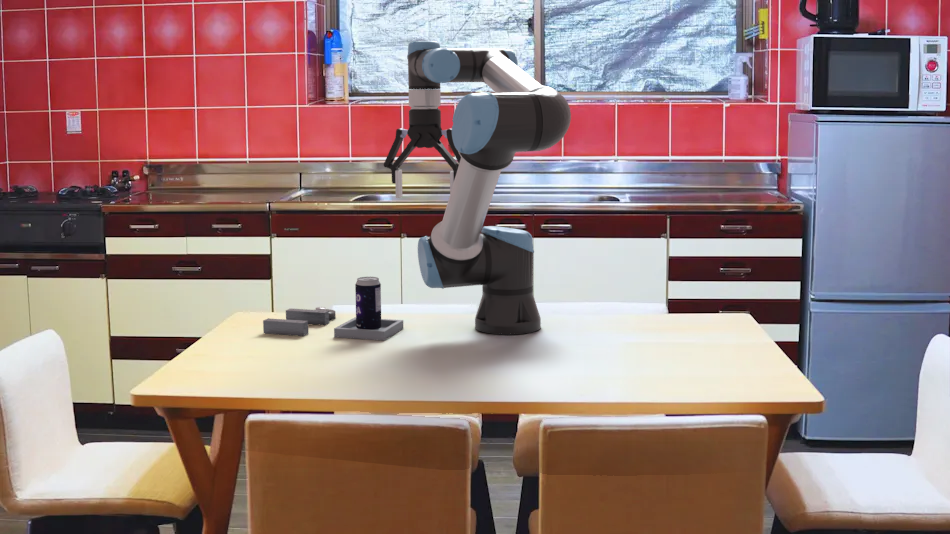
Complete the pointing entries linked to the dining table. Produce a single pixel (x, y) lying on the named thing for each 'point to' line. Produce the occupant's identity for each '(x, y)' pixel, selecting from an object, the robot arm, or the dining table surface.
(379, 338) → the tray
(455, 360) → the dining table surface
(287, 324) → the rails
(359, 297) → the beverage can
